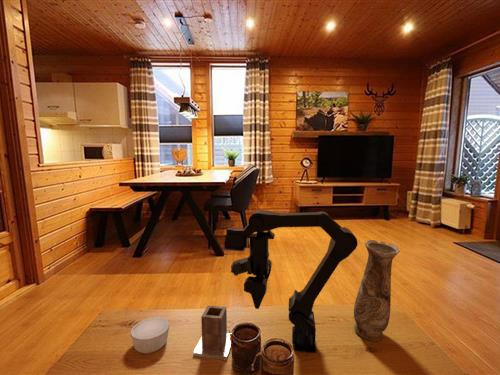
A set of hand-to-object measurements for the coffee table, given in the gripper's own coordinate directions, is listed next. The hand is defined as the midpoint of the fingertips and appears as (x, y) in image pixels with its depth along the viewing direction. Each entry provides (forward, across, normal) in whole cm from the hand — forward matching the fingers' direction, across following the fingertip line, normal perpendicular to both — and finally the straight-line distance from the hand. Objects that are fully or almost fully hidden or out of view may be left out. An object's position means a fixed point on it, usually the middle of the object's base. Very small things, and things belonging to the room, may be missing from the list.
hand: (259, 300), depth 81 cm
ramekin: (+13, +7, -33) cm, 36 cm away
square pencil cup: (+12, +5, -13) cm, 18 cm away
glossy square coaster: (+13, +5, -13) cm, 19 cm away
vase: (+13, -9, +35) cm, 38 cm away
